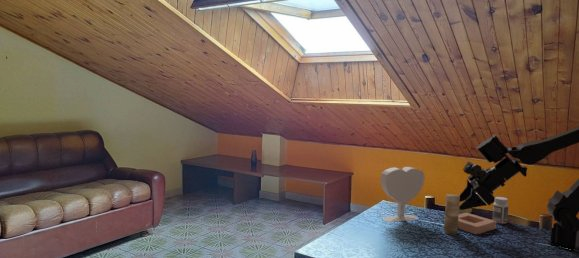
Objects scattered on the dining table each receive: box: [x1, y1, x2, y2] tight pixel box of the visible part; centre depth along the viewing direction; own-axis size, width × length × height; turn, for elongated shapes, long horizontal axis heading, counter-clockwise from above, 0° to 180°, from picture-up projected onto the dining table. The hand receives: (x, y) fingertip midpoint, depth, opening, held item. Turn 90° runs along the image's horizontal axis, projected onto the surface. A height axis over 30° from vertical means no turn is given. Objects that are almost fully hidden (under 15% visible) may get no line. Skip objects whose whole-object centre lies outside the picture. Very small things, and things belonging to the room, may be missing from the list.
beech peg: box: [443, 193, 460, 235], centre depth 133 cm, size 4×4×12 cm
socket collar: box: [458, 213, 497, 235], centre depth 140 cm, size 11×11×2 cm
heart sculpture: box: [380, 166, 426, 223], centre depth 146 cm, size 16×5×18 cm, turn 109°
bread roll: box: [459, 200, 473, 214], centre depth 157 cm, size 8×9×4 cm
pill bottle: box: [491, 196, 509, 224], centre depth 146 cm, size 5×5×8 cm
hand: (458, 204), depth 132 cm, fingers open, 9 cm apart
